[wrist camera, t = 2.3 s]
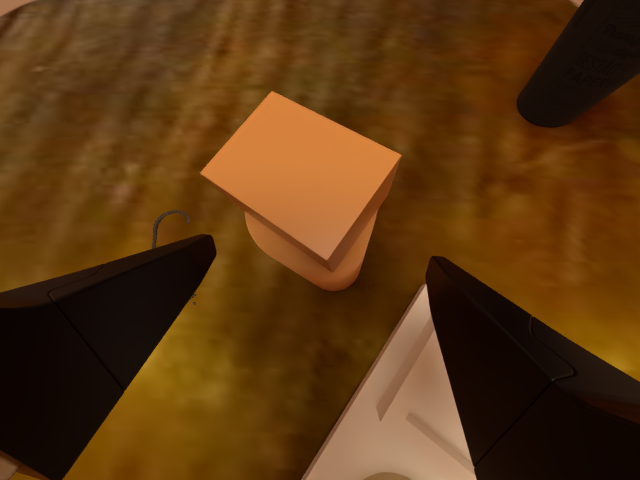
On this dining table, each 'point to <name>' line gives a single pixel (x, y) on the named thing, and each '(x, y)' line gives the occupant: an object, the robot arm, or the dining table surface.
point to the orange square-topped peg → (305, 188)
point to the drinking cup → (584, 63)
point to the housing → (400, 414)
